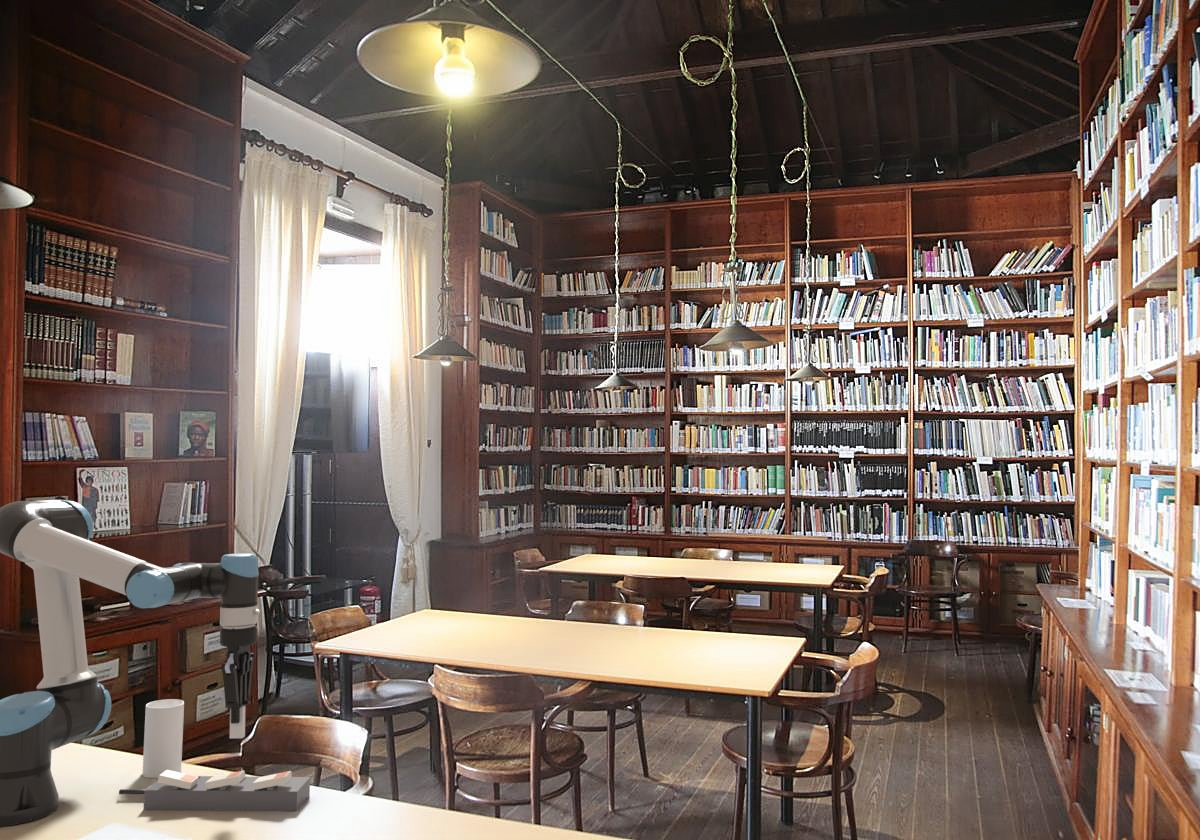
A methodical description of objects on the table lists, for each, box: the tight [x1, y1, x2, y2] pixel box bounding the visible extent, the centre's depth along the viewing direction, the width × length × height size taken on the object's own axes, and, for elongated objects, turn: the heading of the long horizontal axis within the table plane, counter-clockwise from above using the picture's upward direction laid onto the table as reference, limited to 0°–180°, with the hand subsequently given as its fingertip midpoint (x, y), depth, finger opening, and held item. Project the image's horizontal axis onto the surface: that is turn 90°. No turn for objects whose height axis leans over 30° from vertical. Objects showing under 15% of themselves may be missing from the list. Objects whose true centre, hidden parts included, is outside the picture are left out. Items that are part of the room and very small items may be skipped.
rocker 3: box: [253, 770, 293, 790], centre depth 191 cm, size 7×4×2 cm, turn 92°
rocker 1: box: [157, 770, 199, 789], centre depth 191 cm, size 7×4×2 cm, turn 91°
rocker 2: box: [205, 770, 246, 790], centre depth 191 cm, size 7×4×2 cm, turn 92°
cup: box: [142, 698, 185, 779], centre depth 212 cm, size 8×8×16 cm
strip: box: [118, 775, 311, 812], centre depth 193 cm, size 40×9×4 cm, turn 91°
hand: (237, 737), depth 192 cm, fingers closed
